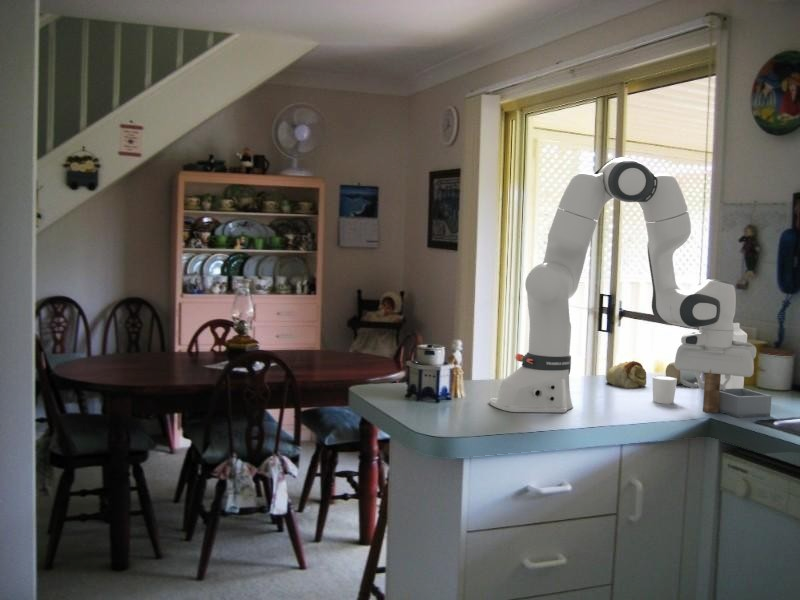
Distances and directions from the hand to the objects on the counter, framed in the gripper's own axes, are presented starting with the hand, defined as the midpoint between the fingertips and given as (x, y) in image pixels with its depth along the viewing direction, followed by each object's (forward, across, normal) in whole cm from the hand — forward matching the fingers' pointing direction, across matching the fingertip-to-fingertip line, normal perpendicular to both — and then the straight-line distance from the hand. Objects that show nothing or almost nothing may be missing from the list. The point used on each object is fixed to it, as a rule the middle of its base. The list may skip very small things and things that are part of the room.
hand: (711, 389), depth 232 cm
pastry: (+6, +28, -28) cm, 40 cm away
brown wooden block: (+6, 0, 0) cm, 6 cm away
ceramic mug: (+6, +12, -40) cm, 42 cm away
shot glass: (+6, +13, -6) cm, 16 cm away
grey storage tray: (+6, -7, -4) cm, 10 cm away
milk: (+6, -2, -30) cm, 31 cm away
